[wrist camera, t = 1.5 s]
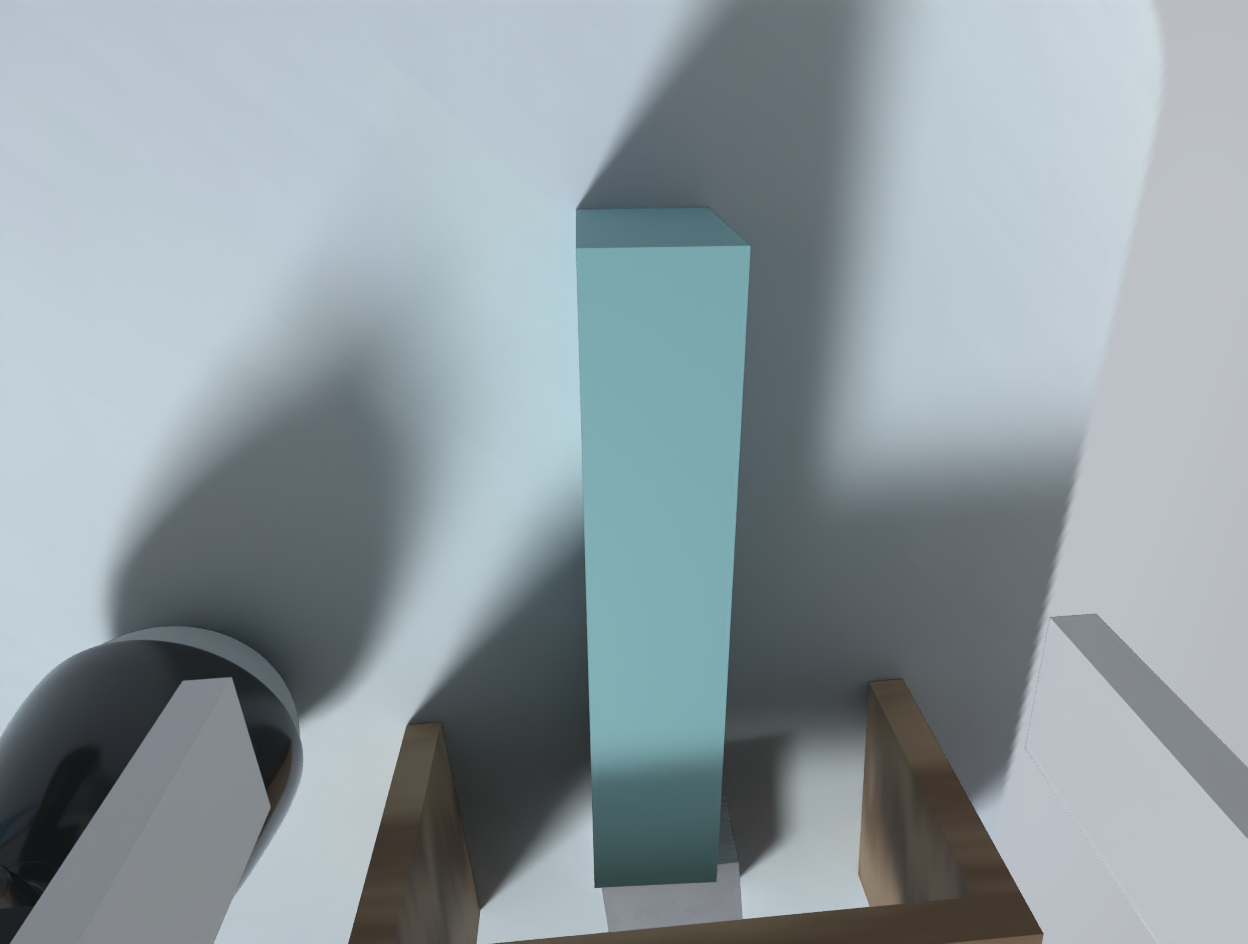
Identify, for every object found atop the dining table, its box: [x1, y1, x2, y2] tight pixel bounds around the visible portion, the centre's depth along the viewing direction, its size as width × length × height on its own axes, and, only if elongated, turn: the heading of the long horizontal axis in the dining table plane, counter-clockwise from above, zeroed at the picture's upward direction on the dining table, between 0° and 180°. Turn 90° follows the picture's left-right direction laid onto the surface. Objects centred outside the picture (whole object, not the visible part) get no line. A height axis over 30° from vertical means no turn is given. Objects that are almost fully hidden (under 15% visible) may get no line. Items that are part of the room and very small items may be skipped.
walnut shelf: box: [348, 679, 1043, 944], centre depth 34 cm, size 12×22×12 cm, turn 94°
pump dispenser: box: [0, 626, 303, 909], centre depth 29 cm, size 10×10×15 cm
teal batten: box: [576, 207, 751, 888], centre depth 30 cm, size 23×4×8 cm, turn 0°
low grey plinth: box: [602, 795, 742, 932], centre depth 40 cm, size 6×6×4 cm
